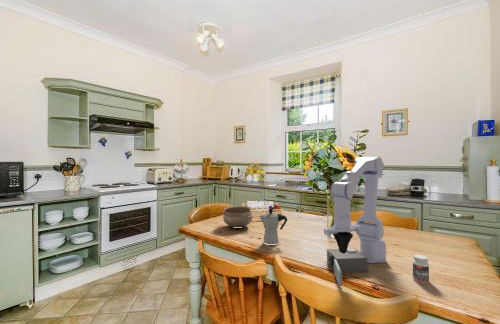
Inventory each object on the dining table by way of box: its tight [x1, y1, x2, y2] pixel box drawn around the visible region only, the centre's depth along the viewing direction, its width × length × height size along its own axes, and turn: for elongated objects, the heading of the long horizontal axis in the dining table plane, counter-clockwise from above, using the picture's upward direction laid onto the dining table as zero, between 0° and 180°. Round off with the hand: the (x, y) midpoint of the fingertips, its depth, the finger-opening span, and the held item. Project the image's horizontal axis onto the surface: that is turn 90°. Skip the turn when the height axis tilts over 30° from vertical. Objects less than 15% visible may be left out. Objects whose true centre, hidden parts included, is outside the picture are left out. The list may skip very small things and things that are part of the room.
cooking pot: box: [222, 205, 254, 228], centre depth 157 cm, size 25×19×12 cm
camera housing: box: [326, 247, 369, 274], centre depth 98 cm, size 13×10×6 cm
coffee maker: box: [258, 208, 288, 244], centre depth 126 cm, size 15×9×18 cm, turn 83°
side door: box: [333, 259, 343, 287], centre depth 87 cm, size 12×1×5 cm, turn 170°
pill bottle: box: [412, 254, 430, 284], centre depth 86 cm, size 5×5×8 cm
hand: (342, 252), depth 89 cm, fingers closed
